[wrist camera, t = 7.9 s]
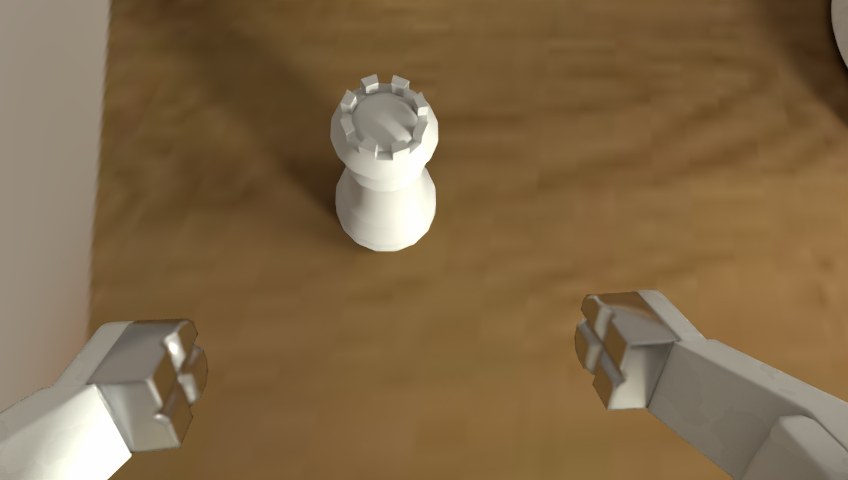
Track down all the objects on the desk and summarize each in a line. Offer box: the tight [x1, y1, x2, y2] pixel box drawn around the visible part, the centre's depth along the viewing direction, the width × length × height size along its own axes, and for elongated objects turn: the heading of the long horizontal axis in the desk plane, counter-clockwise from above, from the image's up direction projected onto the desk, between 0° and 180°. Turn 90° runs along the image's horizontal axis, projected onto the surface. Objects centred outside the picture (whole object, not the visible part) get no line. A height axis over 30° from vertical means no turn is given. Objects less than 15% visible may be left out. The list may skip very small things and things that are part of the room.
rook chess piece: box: [330, 74, 438, 251], centre depth 16 cm, size 4×4×8 cm
